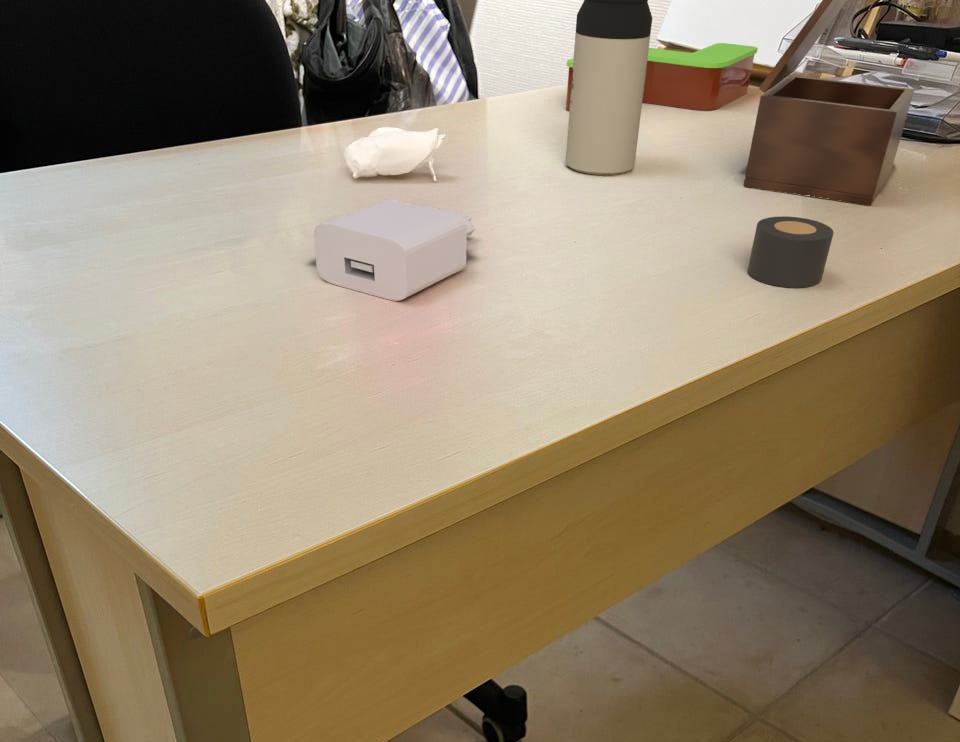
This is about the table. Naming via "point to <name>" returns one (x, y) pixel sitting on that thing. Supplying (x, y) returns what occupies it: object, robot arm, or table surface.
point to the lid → (803, 42)
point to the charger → (392, 248)
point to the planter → (694, 76)
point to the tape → (789, 251)
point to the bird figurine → (392, 152)
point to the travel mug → (607, 85)
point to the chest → (827, 138)
